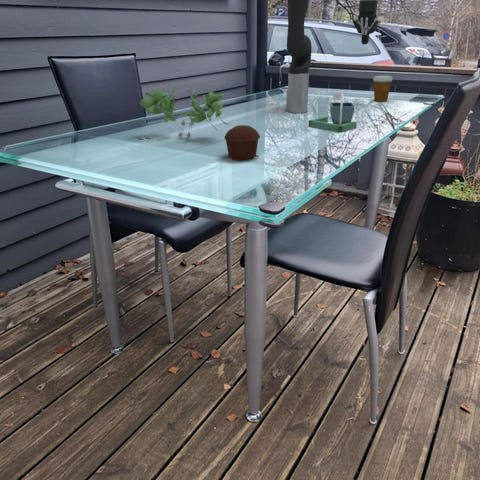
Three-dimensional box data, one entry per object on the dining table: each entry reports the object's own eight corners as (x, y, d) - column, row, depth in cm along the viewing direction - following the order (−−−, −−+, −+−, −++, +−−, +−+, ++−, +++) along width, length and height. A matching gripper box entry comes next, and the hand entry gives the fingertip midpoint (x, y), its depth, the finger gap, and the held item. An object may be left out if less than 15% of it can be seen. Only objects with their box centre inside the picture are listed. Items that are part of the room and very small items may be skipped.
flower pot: (353, 129, 182) (355, 106, 178) (330, 129, 183) (332, 106, 179) (350, 124, 190) (351, 102, 186) (328, 124, 191) (330, 102, 187)
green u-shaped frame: (308, 126, 189) (309, 89, 182) (324, 122, 195) (326, 86, 188) (339, 132, 178) (342, 93, 171) (356, 128, 184) (359, 90, 178)
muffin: (232, 163, 145) (231, 132, 141) (219, 155, 154) (218, 125, 150) (266, 158, 149) (266, 127, 145) (251, 150, 158) (251, 121, 154)
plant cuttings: (158, 147, 192) (130, 123, 171) (168, 109, 194) (141, 81, 174) (235, 154, 180) (215, 129, 159) (244, 113, 182) (225, 84, 162)
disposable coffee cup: (392, 100, 238) (395, 75, 232) (387, 103, 231) (389, 78, 225) (374, 99, 242) (376, 75, 237) (368, 101, 235) (370, 77, 230)
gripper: (350, 0, 195) (347, 44, 203) (377, -1, 186) (372, 45, 194) (360, 0, 200) (357, 43, 207) (387, -2, 191) (382, 44, 198)
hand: (364, 44), depth 201 cm, fingers closed
